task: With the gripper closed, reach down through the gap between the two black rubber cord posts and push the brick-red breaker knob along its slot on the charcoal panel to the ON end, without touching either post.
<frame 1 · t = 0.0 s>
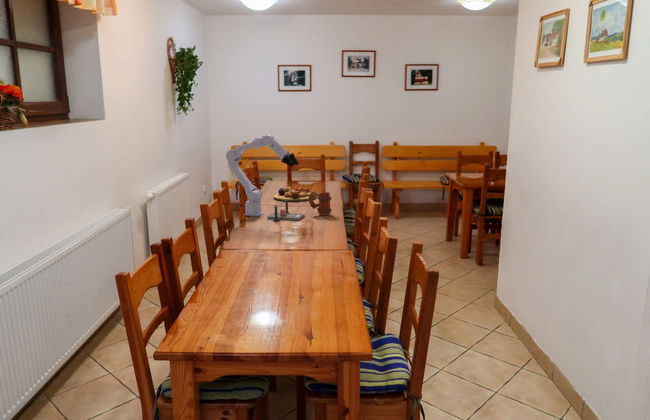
hand: (295, 165, 308), 32 cm above the table, tool tilted 50°, fingers open, 7 cm apart
breaker panel: (286, 217, 314), on the table
breaker knob: (283, 212, 314), point 3 cm above the table, slide at 0.0 cm
cord post left: (286, 214, 323), on the table
wooden plate with food: (295, 198, 378), on the table
mug: (320, 215, 321), on the table
cord post right: (276, 220, 306), on the table
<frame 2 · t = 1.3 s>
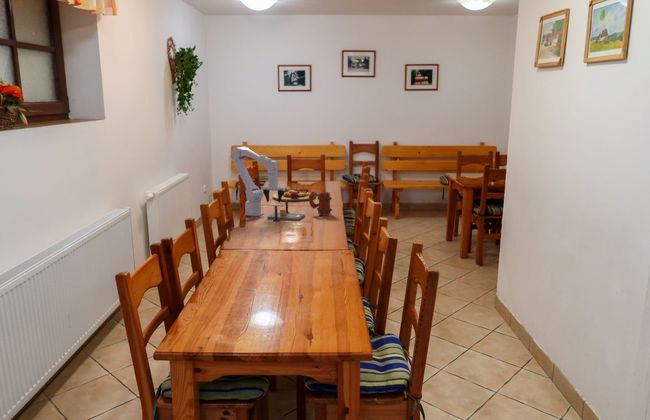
hand: (273, 202, 314), 9 cm above the table, tool pointing down, fingers open, 7 cm apart
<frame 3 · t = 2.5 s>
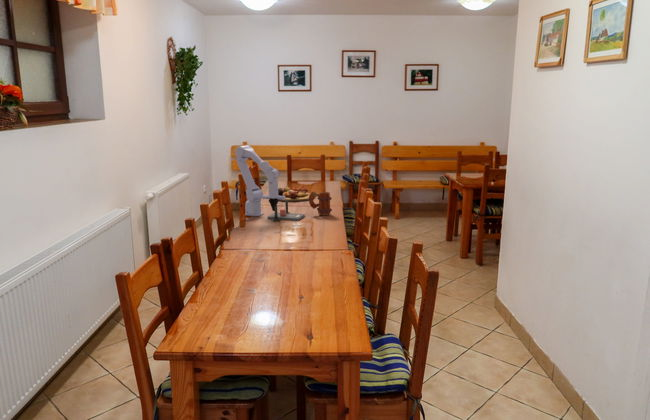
hand: (274, 210, 315), 4 cm above the table, tool pointing down, fingers closed
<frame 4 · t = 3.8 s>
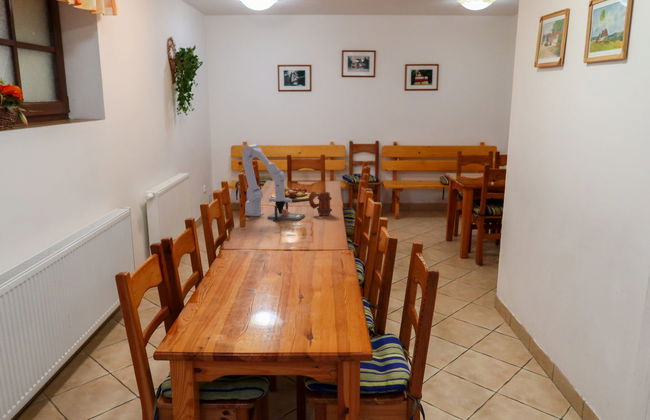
hand: (280, 213, 314), 2 cm above the table, tool pointing down, fingers closed
breaker knob: (285, 212, 313), point 3 cm above the table, slide at 1.2 cm, touching gripper
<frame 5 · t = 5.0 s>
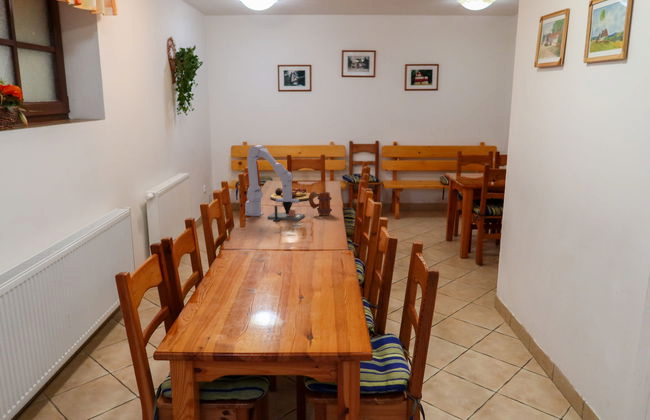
hand: (287, 213, 313), 2 cm above the table, tool pointing down, fingers closed
breaker knob: (292, 212, 312), point 3 cm above the table, slide at 5.9 cm, touching gripper
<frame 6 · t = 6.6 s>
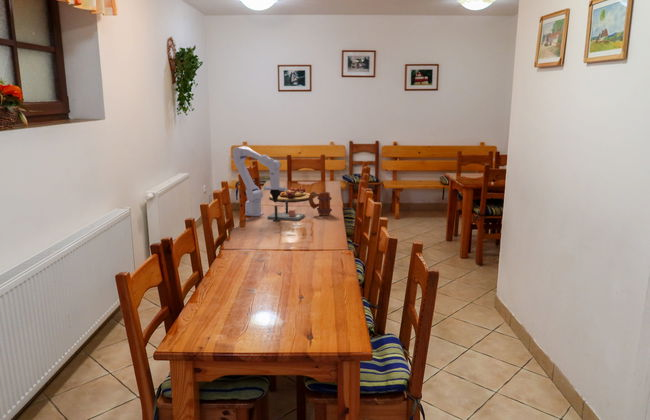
hand: (275, 201, 314), 9 cm above the table, tool pointing down, fingers closed
breaker knob: (292, 212, 312), point 3 cm above the table, slide at 5.9 cm
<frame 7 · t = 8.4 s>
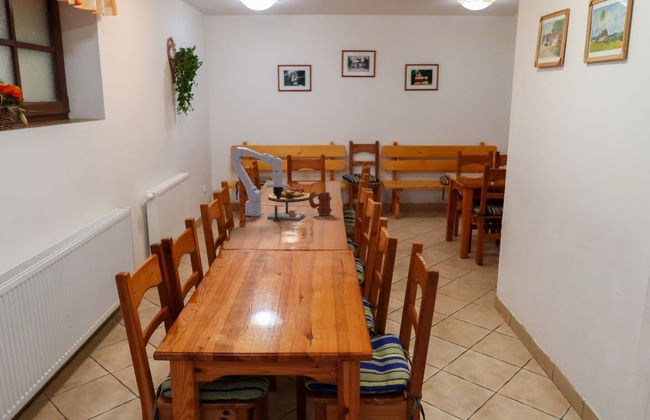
hand: (278, 199, 318), 10 cm above the table, tool pointing down, fingers closed
at the end: breaker knob slide at 5.9 cm; cord post left moved 0.0 cm from its start; cord post right moved 0.0 cm from its start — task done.
